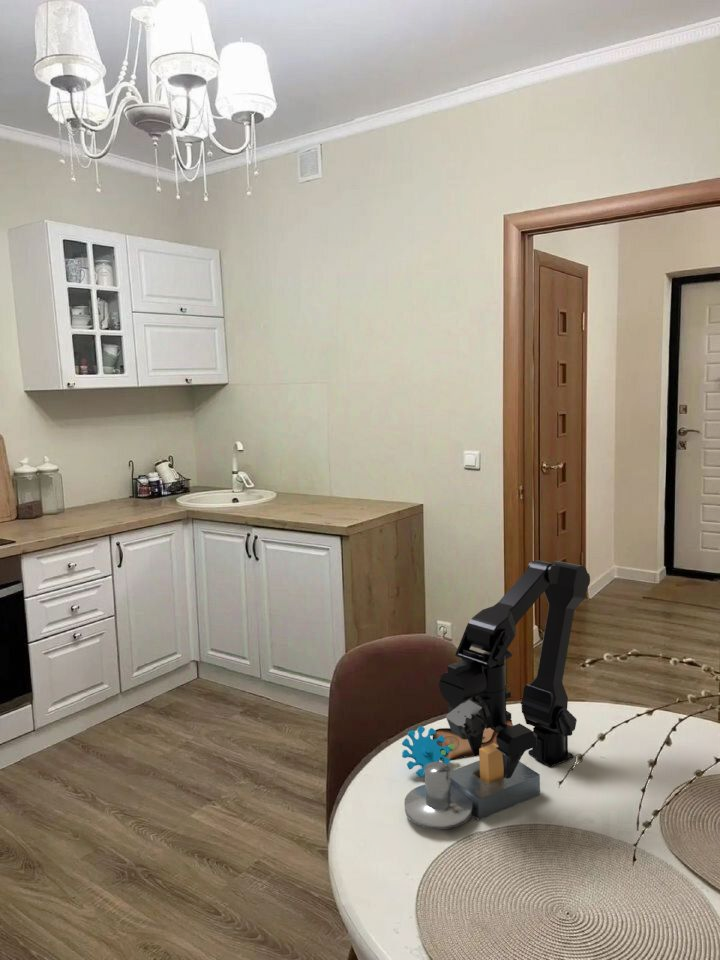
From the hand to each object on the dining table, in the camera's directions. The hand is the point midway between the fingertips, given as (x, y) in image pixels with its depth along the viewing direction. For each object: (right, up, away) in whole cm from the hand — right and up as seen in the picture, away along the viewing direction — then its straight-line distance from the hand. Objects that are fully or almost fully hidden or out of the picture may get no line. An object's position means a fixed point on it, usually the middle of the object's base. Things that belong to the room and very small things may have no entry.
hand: (491, 766), depth 137 cm
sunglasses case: (+1, -3, +18) cm, 19 cm away
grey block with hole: (-5, -6, -2) cm, 8 cm away
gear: (-11, -5, +11) cm, 16 cm away
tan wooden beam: (0, -5, +1) cm, 6 cm away
